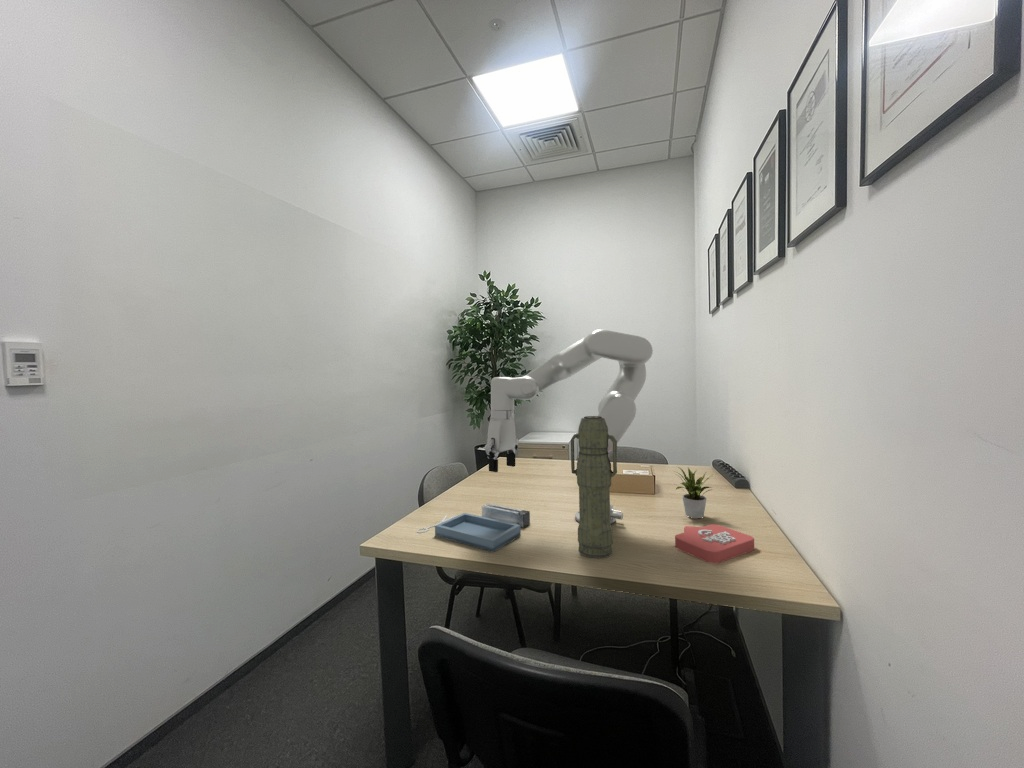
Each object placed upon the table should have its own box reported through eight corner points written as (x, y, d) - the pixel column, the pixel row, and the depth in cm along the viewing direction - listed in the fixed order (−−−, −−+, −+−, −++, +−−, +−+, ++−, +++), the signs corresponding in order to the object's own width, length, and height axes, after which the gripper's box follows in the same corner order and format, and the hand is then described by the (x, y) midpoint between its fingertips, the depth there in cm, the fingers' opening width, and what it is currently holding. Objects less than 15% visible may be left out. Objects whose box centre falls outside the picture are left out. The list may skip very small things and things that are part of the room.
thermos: (620, 560, 97) (617, 418, 96) (571, 556, 99) (569, 418, 99) (618, 545, 105) (615, 415, 105) (573, 542, 108) (571, 415, 108)
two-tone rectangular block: (529, 524, 122) (529, 511, 122) (523, 527, 119) (523, 514, 119) (488, 515, 131) (488, 503, 131) (482, 518, 128) (481, 506, 128)
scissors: (412, 533, 116) (438, 511, 135) (412, 536, 116) (438, 513, 135) (446, 536, 114) (468, 512, 133) (446, 538, 114) (468, 514, 133)
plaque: (705, 518, 115) (757, 535, 102) (705, 531, 115) (757, 550, 102) (662, 530, 107) (713, 550, 93) (663, 544, 107) (713, 566, 93)
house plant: (657, 512, 131) (656, 463, 131) (687, 506, 137) (686, 459, 137) (693, 526, 118) (692, 472, 118) (724, 518, 124) (723, 467, 124)
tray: (520, 535, 113) (520, 525, 113) (493, 552, 102) (493, 540, 102) (464, 522, 125) (464, 512, 125) (435, 535, 114) (434, 525, 114)
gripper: (508, 413, 135) (508, 462, 135) (476, 416, 120) (476, 472, 120) (526, 414, 130) (526, 465, 131) (496, 418, 116) (495, 475, 116)
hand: (502, 468), depth 125 cm, fingers open, 9 cm apart
